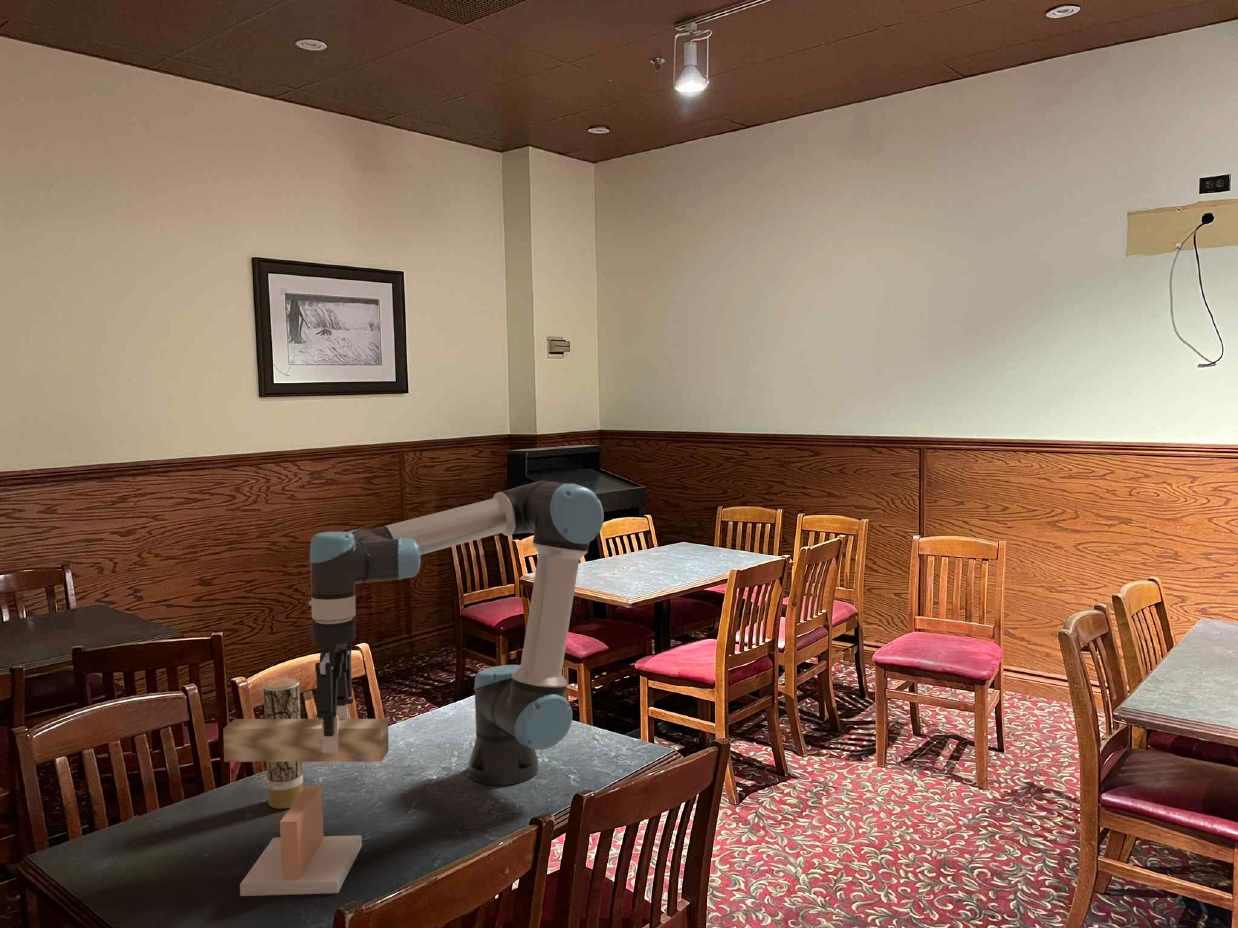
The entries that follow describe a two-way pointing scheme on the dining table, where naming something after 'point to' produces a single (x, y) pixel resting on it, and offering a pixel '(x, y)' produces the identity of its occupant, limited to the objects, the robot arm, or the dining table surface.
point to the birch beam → (303, 740)
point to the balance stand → (302, 854)
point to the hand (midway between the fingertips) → (335, 745)
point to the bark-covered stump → (283, 775)
